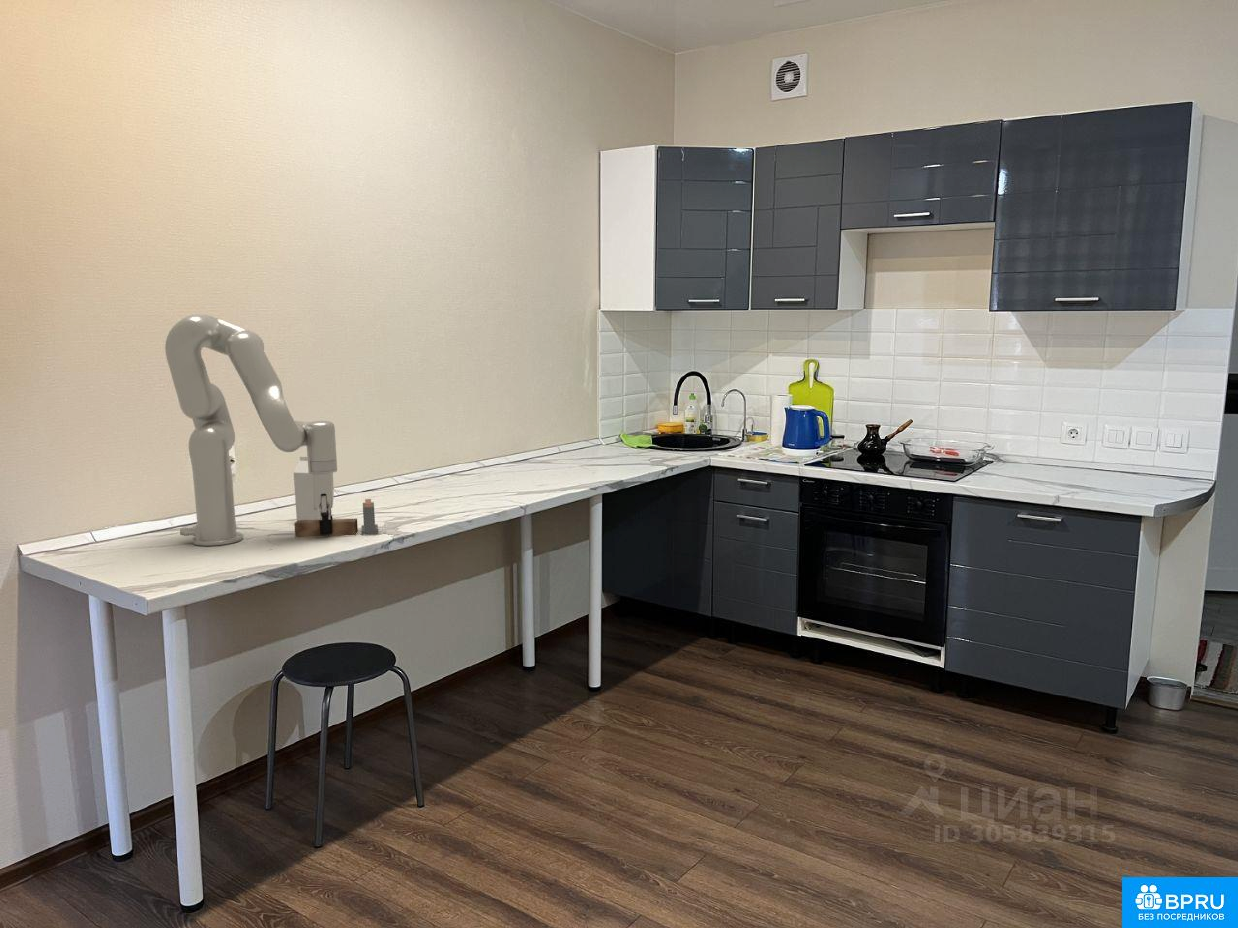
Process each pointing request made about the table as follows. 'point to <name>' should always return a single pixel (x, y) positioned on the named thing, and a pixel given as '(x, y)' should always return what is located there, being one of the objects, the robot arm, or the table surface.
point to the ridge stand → (369, 518)
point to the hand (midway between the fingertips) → (326, 531)
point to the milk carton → (304, 492)
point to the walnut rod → (313, 528)
